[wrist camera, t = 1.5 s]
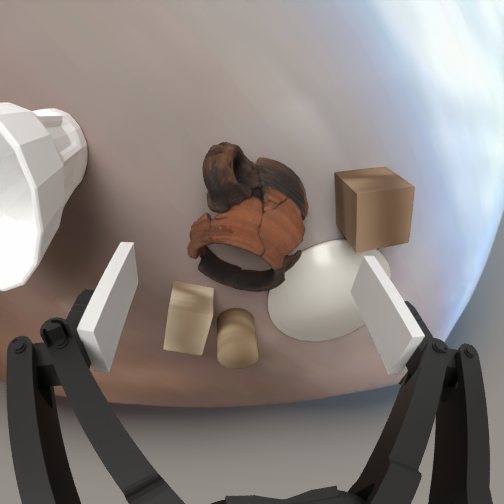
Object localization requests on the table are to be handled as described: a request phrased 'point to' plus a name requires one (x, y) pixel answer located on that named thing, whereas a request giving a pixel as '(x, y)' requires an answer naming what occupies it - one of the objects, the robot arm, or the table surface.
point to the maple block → (188, 318)
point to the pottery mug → (249, 217)
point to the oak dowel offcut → (236, 339)
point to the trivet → (320, 293)
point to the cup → (34, 184)
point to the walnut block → (373, 208)
